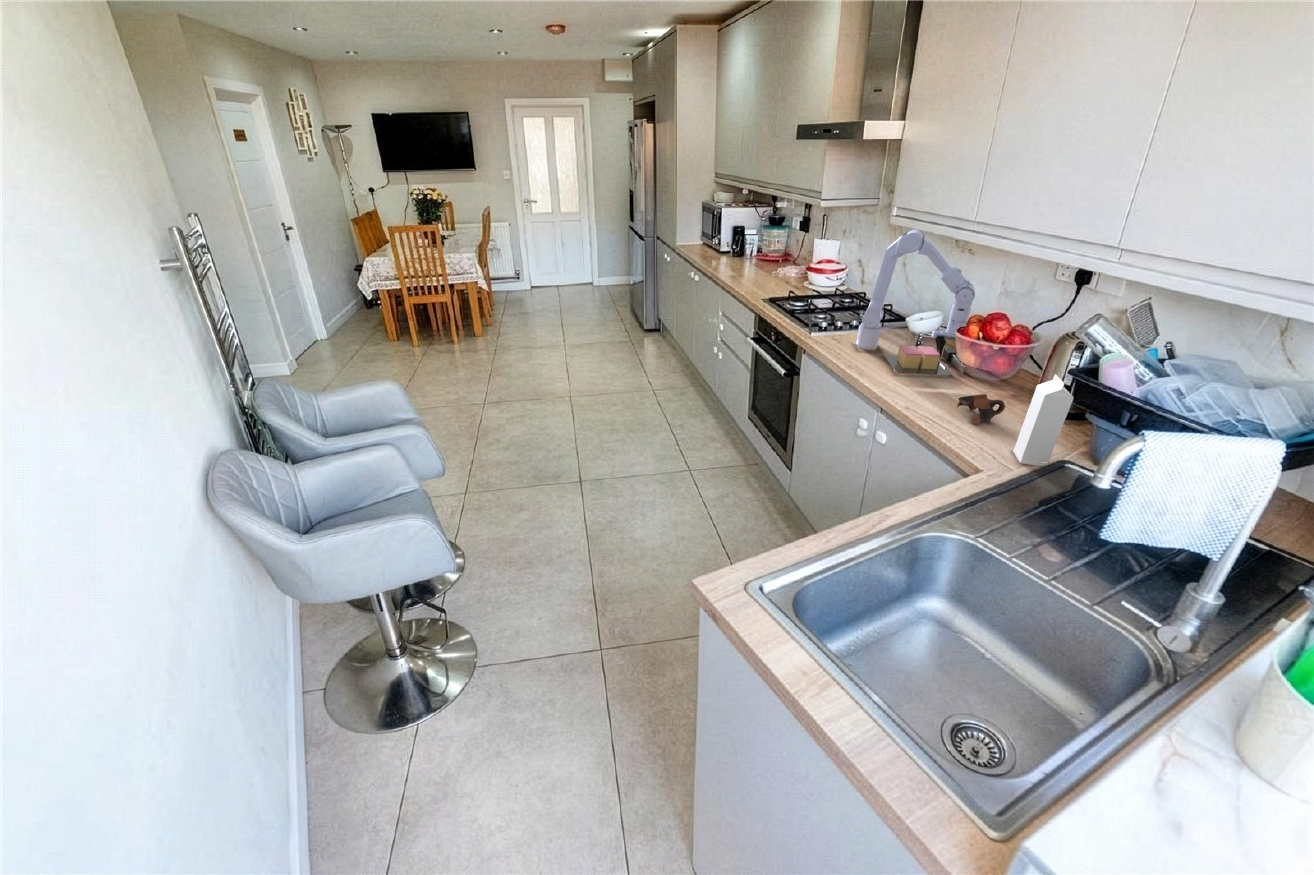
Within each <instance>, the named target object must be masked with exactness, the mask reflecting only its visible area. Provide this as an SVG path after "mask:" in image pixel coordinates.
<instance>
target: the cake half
mask: <svg viewBox="0 0 1314 875" xmlns="http://www.w3.org/2000/svg"><path fill="white" fill-rule="evenodd" d="M897 355H898V356H897V361H898V362H899V363H900V365H901V366H902V368H916V369H918V366H919V362H920V357H921V353H920V352H919V351H918V350H917V347H916V346H915V345H899V346H898V352H897Z"/></svg>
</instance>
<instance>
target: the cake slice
mask: <svg viewBox="0 0 1314 875" xmlns="http://www.w3.org/2000/svg"><path fill="white" fill-rule="evenodd" d="M916 349H917V350H918V351H919V352H920V353H921V357H920V362H919V366H920V367H921V369H937V365H938V362H940V359H941V358H940V354H939V353H938V352H937V349H935V347H933V346H926V345H925V346H923V345H918V346H917V347H916Z"/></svg>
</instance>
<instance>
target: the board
mask: <svg viewBox="0 0 1314 875" xmlns="http://www.w3.org/2000/svg"><path fill="white" fill-rule="evenodd" d="M883 356H884V358H885V359H886V361H887V362H888V363H889V366H891V368H892V369H893V371H894V372H895V373H896V374H902V375H903V374H904V375H905V374H906V375H926V376H927V375H929V376H952V373H951V372H950V371H949V370H948V369H947V368H946V367H945V366H944V365H943V364H942V363H941V362H940V361H939V362H938V365H937V369H921V367H920V366H918V369H916V368H902V366H901V365H900V363H899V362H898V361H897V356H898V354H883Z"/></svg>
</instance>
